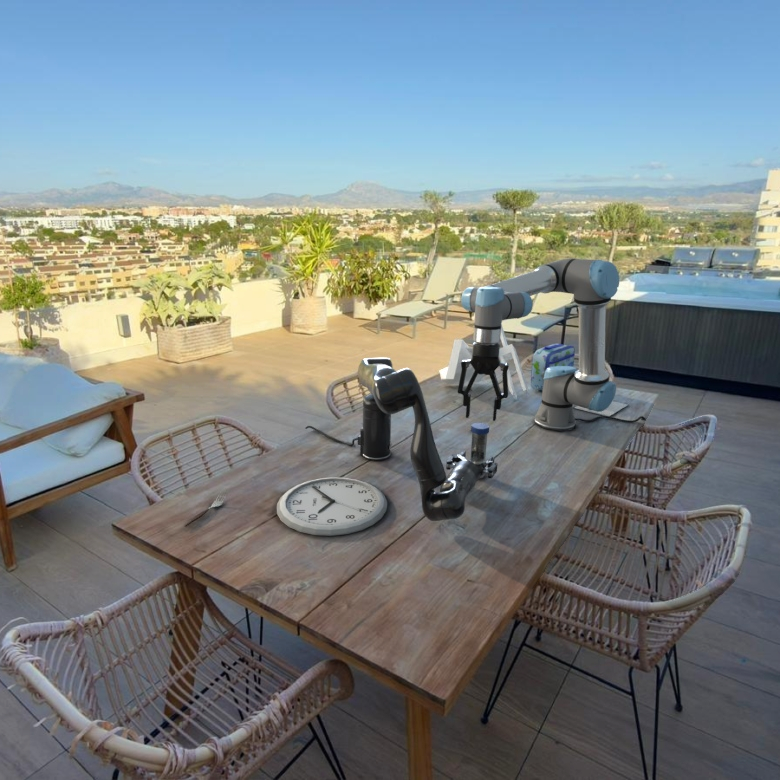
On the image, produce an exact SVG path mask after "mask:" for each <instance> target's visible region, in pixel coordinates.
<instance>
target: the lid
mask: <svg viewBox="0 0 780 780" xmlns="http://www.w3.org/2000/svg"><path fill="white" fill-rule="evenodd" d="M470 431H471V433H472V432H473V433H475V434H479V435H484V434H487V435H488V434H489V433H490V425H489V424H487V423H484V422H474V423H472V424H471V425H470Z"/></svg>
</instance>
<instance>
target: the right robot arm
mask: <svg viewBox="0 0 780 780" xmlns="http://www.w3.org/2000/svg"><path fill="white" fill-rule="evenodd" d="M619 285H620V273H619V270H618V268H617V266H616V265H615V264H614V263H613V262H611V261H608V260H602V259H586V258H574V257H573V258H563V259H559V260H556V261H551V262H548V263H545V264H542V265H539V266H537V267H536V268H535V270H533V271H530V272H526V273H524V274H519V275H518V276H514V277H510V278H508V279H504V280H501V281H499V282H496V283H492V284H488V285H485V286H481V287H477V286H474V287H473V286H469V287H467V288H465V289H464V290H463V292H462V294H461V297H460V300H461V301H460V302H461V303H460V304H461V306H462V308H463V309H464V310H465V311H469V312H471V313H474V326H473V341H474V342H473V343H472V347H473V353H472V358H471V360H462V362H461V367H462V371H461V376H460V381H459V384H458V387H457V394H460V395H462V397H463V398H462V406H463V407H466V409H465V418H466V419H469V417H470V412H471V399H472V398H471V397H472V394H469V393H470V391H471V389H472V387H473V385H474V384H475V383H474V381H475V379H476V377H477V375H478V374H485V375H486V376H489V378H490V380H491V383H492V388H493V389H494V393H495V396H494V401H493V412H492V421H493V422H496V420H497V412H498V410H499V411H500V410H501V408H502V400H503V399H508V398H509V387H508V377H507V371H508V368H509V367H510V363H508V362H507V363H506V364H505V363H501V362H500V360H499V349H500V348H501V345H500V342H501V338H500V336H501V324H502V321H505V320H516V319H521V318H525V317H528V315H530V314H531V312H532V310H533V298H532V296H535V295H537V294H540V293H541V294H549V293H555V292H556V293H564V294H571V295H573V303H574V304H575V305H576V306H577V307H578V368H577V367H576V366H573V367H571V366H554V367H549V368H547V369H546V371H545V375H544V378H543V379H544V382H543V390H541V391H542V394H541V402H540V405H539V407H538V410H537V411H536V413H535V416H534V424H535V425H536V426H537V427H539V428H542V429H544V430H549V431H556V432H567V431H572V430H574V429H575V428H576V421H577V422H584V423H592V422H595V421H597V420H599V419H609V420H615V421H619V422H622V423H629V424H630V423H636V422H638V421H640V420H641V419H642V420H644V421H645V420H646V417H644V416H643V415H641V416H639V417H637V418H636V419H633V420H628V419H622V418H619V417H614V416H604V415H600V416H599V415H598V416H595V417H593V418H592V419H585V418H584V419H583V418H577V417H576V416H575V413H574V407H573V406H580V407H583V408H586V409H589V410H593V411H597V412H601V411H604V410H605V409H607V408H608V407H609V405H610V404H611V402H612V401H614V398H615V396H616V392H617V386H616V385H617V384H615V382H613V381H612V380H610V373H609V371H608V370H607V369H606V367H605V366H606V321H607V305H608V304H609V303H610V302H611V301H612V298H613V297H614V296H616V293H617V292H618V291H619V290H618V288H619ZM469 364H471V365H472V366H473V368H474V370H475V371H474V373H473V375H472V377H471V379H470V381H469V382H468V384H467V386H466V388H465V389H464V385H465V383H464V381H465V376H466V371H467V368H468V367H469ZM498 366H499V367H498ZM498 368H500V371H502V372H501V373H502V375H501V376H502V390H501V388H500V385H499V380H498V378H497V375H496V372H495V371H496V370H497V369H498Z"/></svg>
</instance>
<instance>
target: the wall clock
mask: <svg viewBox="0 0 780 780" xmlns="http://www.w3.org/2000/svg"><path fill="white" fill-rule="evenodd" d="M387 509H388V500H387V498H386V496H385V494H384V493H383V492H382V491H381V490H380V489H379V488H377V487H376V486H374V485H372V484H371V483H369V482H365V481H362V480H359V479H355V478H349V477H338V476H337V477H335V476H333V477H332V476H331V477H322V478H317V479H312V480H307V481H305V482H302V483H299V484H297V485H295V486H293V487H292V488H290V489H288V490H287V491H286V492H285V493H284V494H283V495H281V496H280V498H279V499H278V502H277V503H276V515H277V517H278V518H279V520H280V521H281V522H282V523H283V524H285V525H286V526H287V527H288V528H290V529H293V530H295V531H297V532H299V533H303V534H308V535H312V536H327V537H328V536H329V537H331V536H332V537H333V536H342V535H350V534H352V533H356V532H361V531H363V530H366V529H368V528H369V527H372V526H373V525H375V524H376V523H378V522H379V521H380V520H381V519H382V518H383V517H384V516H385V514H386V512H387Z"/></svg>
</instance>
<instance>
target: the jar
mask: <svg viewBox="0 0 780 780" xmlns="http://www.w3.org/2000/svg"><path fill="white" fill-rule="evenodd" d="M487 443H488V434H484V435H479V434H475V433H473V432H472V431H471V449H470V458H469V461H472V462H479V461H486V458H487ZM481 466H482V465H481ZM484 477H485V475H484V474H483V475H482V476H480V477H479V479H478V480H481V479H484Z"/></svg>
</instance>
